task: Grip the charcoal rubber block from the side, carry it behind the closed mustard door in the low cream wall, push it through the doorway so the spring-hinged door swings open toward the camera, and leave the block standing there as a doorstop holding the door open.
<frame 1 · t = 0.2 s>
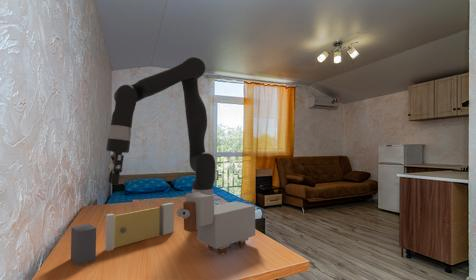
hand: (113, 183, 87), 22 cm above the table, tool pointing down, fingers open, 8 cm apart
wall frame: (144, 239, 93), on the table
rubber block: (83, 259, 76), on the table
door: (139, 226, 91), point 6 cm above the table, hinge at 0.0°
toy: (216, 251, 83), on the table
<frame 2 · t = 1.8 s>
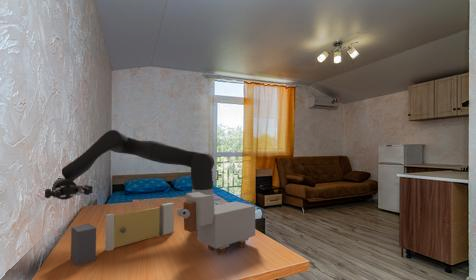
hand: (74, 193, 85), 19 cm above the table, tool horizontal, fingers open, 8 cm apart
nothing on the table moved.
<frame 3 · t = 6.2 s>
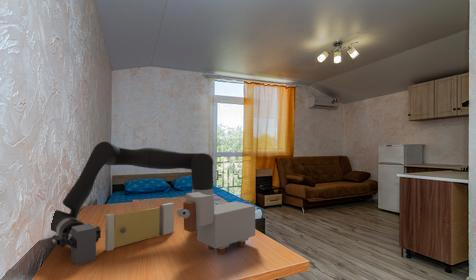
hand: (86, 242, 75), 6 cm above the table, tool horizontal, fingers closed on rubber block, 5 cm apart
rubber block: (83, 259, 76), on the table, touching gripper
everything else where it was.
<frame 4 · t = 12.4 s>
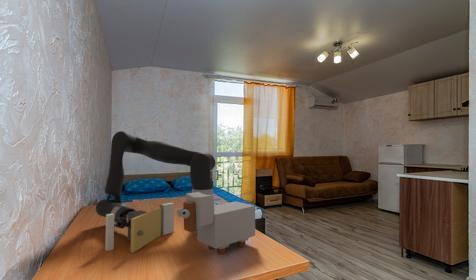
hand: (142, 224, 90), 7 cm above the table, tool horizontal, fingers closed on rubber block, 5 cm apart
rubber block: (138, 239, 92), point 1 cm above the table, touching door, gripper
door: (149, 228, 89), point 6 cm above the table, hinge at 29.9°, touching gripper, rubber block
everything else where it was.
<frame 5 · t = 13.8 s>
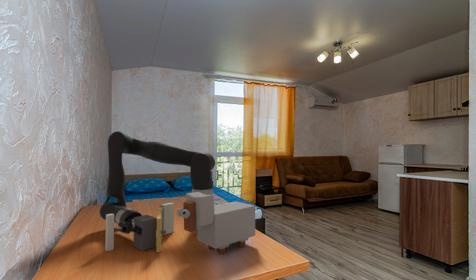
hand: (148, 229, 85), 6 cm above the table, tool horizontal, fingers closed on rubber block, 5 cm apart
rubber block: (144, 246, 87), on the table, touching gripper
door: (162, 227, 90), point 6 cm above the table, hinge at 57.8°, touching gripper
everything else where it was.
when the fingers open (6 cm above the table, at t = 15.1 s): rubber block stays where it is, on the table.
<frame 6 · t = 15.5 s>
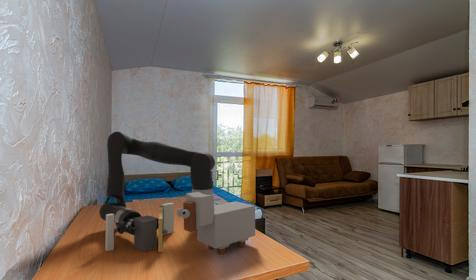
hand: (146, 229, 84), 7 cm above the table, tool horizontal, fingers open, 8 cm apart
rubber block: (145, 246, 86), on the table
door: (163, 227, 90), point 6 cm above the table, hinge at 59.8°, touching gripper
everything else where it was.
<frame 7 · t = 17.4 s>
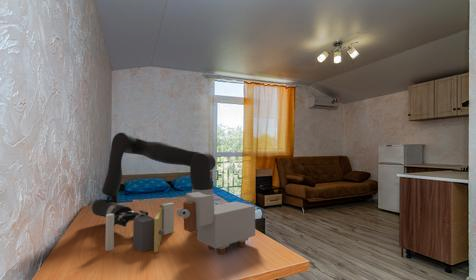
hand: (136, 221, 92), 7 cm above the table, tool horizontal, fingers open, 8 cm apart
rubber block: (144, 246, 86), on the table, touching door
door: (161, 227, 90), point 6 cm above the table, hinge at 55.4°, touching rubber block
everything else where it was.
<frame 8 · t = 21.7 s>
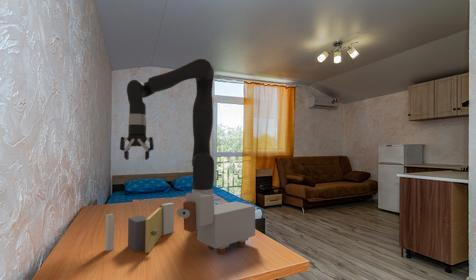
hand: (136, 159, 111), 30 cm above the table, tool pointing down, fingers open, 8 cm apart
rubber block: (138, 247, 86), on the table, touching door
door: (156, 227, 89), point 6 cm above the table, hinge at 46.4°, touching rubber block
everything else where it was.
at the end: door at +46° (first picture: +0°); rubber block inside the target area (3.0 cm from its centre), on the table; rubber block tilted 0° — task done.
